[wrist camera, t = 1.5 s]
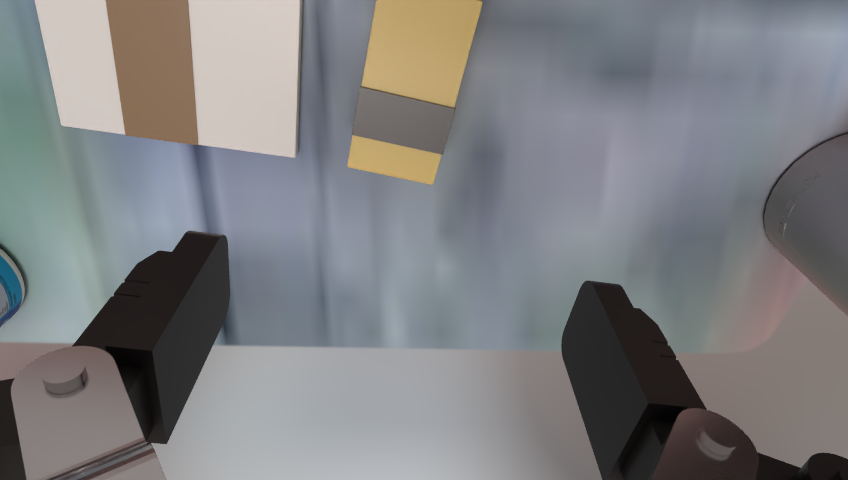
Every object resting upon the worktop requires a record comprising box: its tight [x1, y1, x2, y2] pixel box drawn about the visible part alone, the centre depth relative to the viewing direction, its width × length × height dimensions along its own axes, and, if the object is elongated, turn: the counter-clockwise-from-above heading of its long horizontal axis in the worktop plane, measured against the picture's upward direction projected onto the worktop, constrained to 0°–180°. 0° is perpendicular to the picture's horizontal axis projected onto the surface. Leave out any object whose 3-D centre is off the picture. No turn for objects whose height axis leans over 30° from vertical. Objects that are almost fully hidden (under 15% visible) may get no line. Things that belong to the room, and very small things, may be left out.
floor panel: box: [35, 0, 303, 158], centre depth 28 cm, size 13×12×1 cm
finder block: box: [347, 0, 483, 185], centre depth 27 cm, size 5×9×5 cm, turn 167°
